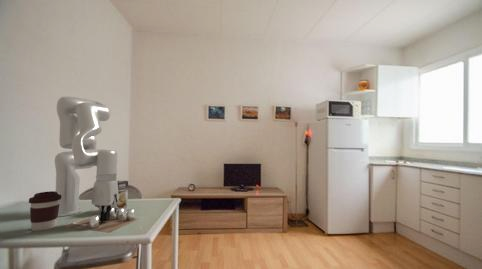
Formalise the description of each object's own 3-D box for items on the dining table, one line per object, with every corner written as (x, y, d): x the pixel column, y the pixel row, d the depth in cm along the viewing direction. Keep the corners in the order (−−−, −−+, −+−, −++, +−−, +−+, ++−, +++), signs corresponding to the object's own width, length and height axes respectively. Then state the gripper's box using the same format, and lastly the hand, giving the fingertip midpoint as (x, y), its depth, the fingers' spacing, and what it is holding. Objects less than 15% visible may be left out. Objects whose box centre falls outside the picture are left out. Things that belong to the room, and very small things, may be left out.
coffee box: (114, 216, 103) (115, 183, 104) (103, 215, 104) (104, 182, 105) (127, 211, 112) (128, 180, 113) (117, 210, 113) (118, 180, 114)
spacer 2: (104, 218, 96) (104, 208, 97) (110, 216, 99) (110, 206, 100) (110, 219, 96) (110, 209, 96) (116, 217, 99) (116, 207, 99)
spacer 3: (114, 219, 95) (114, 209, 95) (120, 217, 98) (120, 207, 98) (120, 220, 94) (120, 210, 95) (125, 217, 97) (126, 208, 98)
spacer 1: (87, 229, 84) (87, 217, 84) (94, 226, 87) (95, 215, 88) (93, 229, 83) (94, 218, 84) (100, 226, 86) (101, 215, 87)
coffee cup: (65, 226, 90) (67, 191, 91) (39, 235, 80) (41, 196, 81) (48, 224, 92) (50, 189, 93) (20, 233, 83) (22, 194, 84)
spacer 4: (124, 220, 94) (124, 210, 94) (129, 218, 97) (130, 208, 97) (130, 221, 93) (130, 210, 93) (135, 219, 96) (136, 208, 96)
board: (62, 229, 87) (62, 226, 87) (97, 217, 102) (97, 214, 102) (109, 235, 81) (109, 231, 81) (139, 221, 96) (139, 218, 96)
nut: (88, 223, 90) (88, 217, 90) (98, 219, 95) (99, 214, 95) (96, 224, 89) (96, 218, 89) (106, 220, 94) (106, 215, 94)
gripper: (84, 178, 91) (83, 222, 89) (113, 180, 87) (111, 225, 86) (100, 176, 98) (98, 216, 97) (127, 177, 94) (126, 219, 93)
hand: (104, 220), depth 91 cm, fingers closed
